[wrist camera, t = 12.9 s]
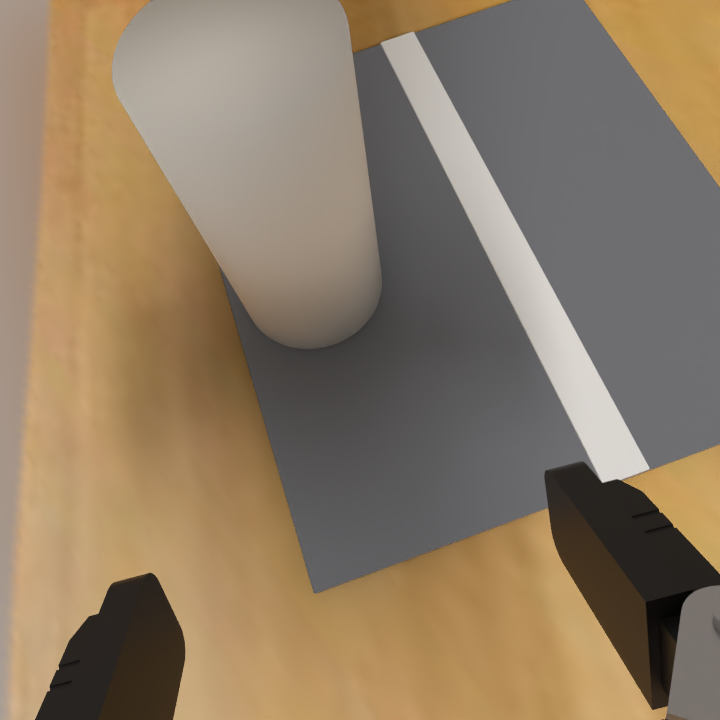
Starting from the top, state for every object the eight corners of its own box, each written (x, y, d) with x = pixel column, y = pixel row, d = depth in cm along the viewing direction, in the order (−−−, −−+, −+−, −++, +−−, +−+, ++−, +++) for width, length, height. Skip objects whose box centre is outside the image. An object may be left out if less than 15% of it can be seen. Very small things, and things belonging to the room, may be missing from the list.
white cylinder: (354, 209, 23) (305, -64, 13) (403, 318, 21) (386, 87, 11) (229, 255, 22) (92, 10, 13) (267, 369, 20) (138, 176, 11)
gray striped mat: (567, -8, 26) (570, -21, 26) (855, 394, 19) (867, 388, 18) (179, 121, 26) (174, 111, 25) (316, 593, 18) (313, 593, 18)
